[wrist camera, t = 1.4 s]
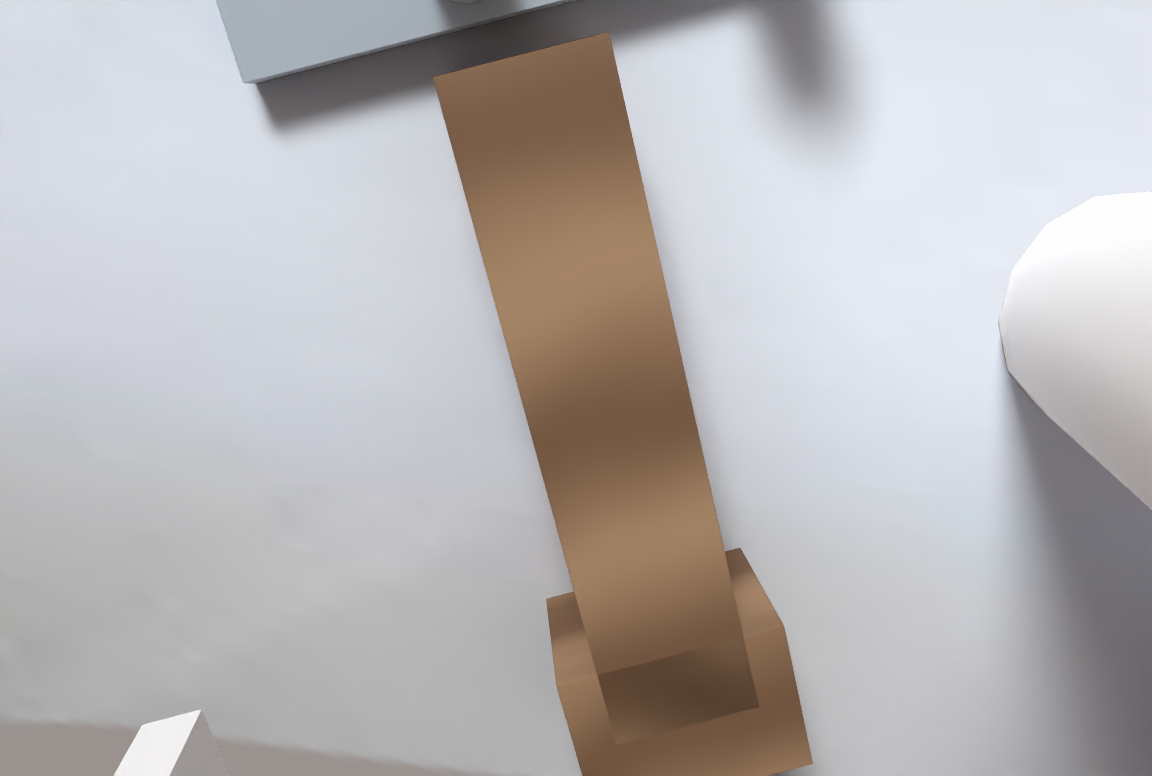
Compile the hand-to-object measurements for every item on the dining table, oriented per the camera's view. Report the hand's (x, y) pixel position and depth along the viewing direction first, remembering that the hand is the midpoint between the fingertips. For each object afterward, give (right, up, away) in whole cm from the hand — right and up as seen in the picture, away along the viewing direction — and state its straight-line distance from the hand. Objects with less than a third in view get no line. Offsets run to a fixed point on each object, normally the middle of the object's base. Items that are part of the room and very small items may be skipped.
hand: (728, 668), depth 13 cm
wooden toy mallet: (-1, +4, +14) cm, 14 cm away
